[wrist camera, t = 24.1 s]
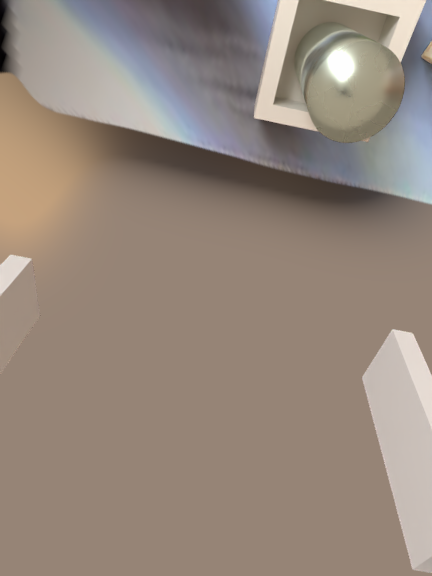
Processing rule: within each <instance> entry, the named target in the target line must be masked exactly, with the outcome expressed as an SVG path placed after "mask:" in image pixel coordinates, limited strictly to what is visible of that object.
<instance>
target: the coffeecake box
mask: <svg viewBox="0 0 432 576" xmlns="http://www.w3.org/2000/svg"><path fill="white" fill-rule="evenodd" d="M421 57H422V58H423V59H425V60H426V61H428V62H429V63H431V64H432V41H431V43H430V44H429V45H428V47H427V48H426V50H425V51H424V52H423V54H422V55H421Z"/></svg>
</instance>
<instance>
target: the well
mask: <svg viewBox="0 0 432 576" xmlns="http://www.w3.org/2000/svg"><path fill="white" fill-rule="evenodd" d="M425 2H426V0H278V2H277V6H276V11H275V15H274V20H273V25H272V29H271V34H270V38H269V43H268V47H267V52H266V56H265V61H264V65H263V70H262V74H261V79H260V84H259V88H258V93H257V97H256V102H255V107H254V118H257V119H262V120H266V121H271V122H276V123H280V124H285V125H290V126H295V127H299V128H304V129H309V130H313V131H318V130H317V129H316V127H315V126H314V124H313V122H312V120H311V118H310V115H309V112H308V109H307V106H306V103H305V100H304V97H303V94H302V91H301V88H300V85H299V82H298V79H297V76H296V72H295V67H294V58H295V53H296V49H297V47H298V45H299V43H300V41H301V39H302V38H303V36H304V35H305V34H306V33H307V32H308V31H309V30H310V29H312V28H313V27H315V26H317V25H319V24H321V23H325V22H337V23H340V24H343V25H345V26H347V27H349V28H351V29H352V30H354V31H356V32H358V33H360V34H362V35H364V36H366V37H368V38H370V39H372V40H374V41H376V42H378V43H380V44H382V45H384V46H385V47H387V48H388V49H390V50H391V51H392V52H393V53H394V54H395V55H396V56H397V58H398V59H399V61H400V63H401V60H402V58H403V56H404V53H405V51H406V48H407V46H408V43H409V41H410V38H411V36H412V34H413V31H414V29H415V26H416V24H417V21H418V19H419V16H420V14H421V12H422V9H423V7H424V4H425ZM318 132H319V131H318ZM369 139H370V137H369V138H367V139H364V140H362V141H365V142H368V141H369Z"/></svg>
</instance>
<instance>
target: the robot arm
mask: <svg viewBox="0 0 432 576" xmlns="http://www.w3.org/2000/svg"><path fill="white" fill-rule="evenodd" d="M39 317H40V312H39V305H38V298H37V290H36V283H35V276H34V269H33V262H32V259H31V258H26V257H20V256H15V255H9V256H8V258H7V259H6V260H5V261H4V262H3V263H2V264H1V265H0V374H1V373H2V371H3V370H4V368H5V367H6V365H7V364H8V362H9V361H10V360H11V358H12V357H13V355H14V354H15V352H16V351H17V349H18V348H19V346H20V345H21V343H22V342H23V340H24V339H25V338H26V336H27V334H28V333H29V332H30V330H31V329H32V327H33V326H34V324H35V323H36V321H37V320H38V318H39ZM362 379H363V383H364V387H365V391H366V395H367V398H368V402H369V406H370V410H371V413H372V417H373V421H374V425H375V429H376V432H377V436H378V440H379V444H380V447H381V451H382V455H383V459H384V463H385V466H386V470H387V474H388V478H389V482H390V485H391V489H392V493H393V497H394V501H395V504H396V508H397V512H398V516H399V519H400V523H401V527H402V531H403V535H404V538H405V542H406V546H407V550H408V554H409V557H410V561H411V565H412V569H413V570H418V571H423V572H429V573H432V375H431V373H430V371H429V369H428V366H427V364H426V362H425V360H424V358H423V355H422V353H421V351H420V348H419V346H418V344H417V342H416V339H415V337H414V335H413V333H409V332H404V331H399V330H394V329H392V331H391V332H390V334H389V335H388V338H387V339H386V340H385V342H384V344H383V345H382V347H381V348H380V350H379V351H378V353H377V355H376V356H375V358H374V360H373V361H372V362H371V364H370V366H369V367H368V369H367V370H366V372H365V374H364V375H363V377H362Z"/></svg>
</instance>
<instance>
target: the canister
mask: <svg viewBox="0 0 432 576" xmlns="http://www.w3.org/2000/svg"><path fill="white" fill-rule="evenodd" d="M294 67H295V72H296V76H297V79H298V82H299V85H300V88H301V91H302V94H303V97H304V100H305V103H306V106H307V109H308V112H309V115H310V118H311V120H312V122H313V124H314V126H315V127H316V129H317V130H318V131H319V132H320V133H321V134H322V135H324V136H325V137H327V138H329V139H331V140H333V141H337V142H342V143H352V142H358V141H362V140H364V139H367V138H369V137H371V136H373V135H375V134H376V133H378V132H379V131H380V130H382V129H383V128H384V127H385V126H386V125H387V124H388V123H389V122H390V120H391V119H392V118H393V117H394V115H395V113H396V112H397V110H398V108H399V106H400V104H401V101H402V98H403V93H404V87H405V77H404V72H403V68H402V65H401V63H400V61H399V59H398V58H397V56H396V55H395V54H394V53H393V52H392V51H391V50H390V49H388V48H387V47H385V46H384V45H382V44H380V43H378V42H376V41H374V40H372V39H370V38H368V37H366V36H364V35H362V34H360V33H358V32H356V31H354V30H352V29H351V28H349V27H347V26H345V25H343V24H340V23H337V22H325V23H321V24H319V25H317V26H315V27H313V28H312V29H310V30H309V31H308V32H307V33H306V34H305V35H304V36H303V38H302V39H301V41H300V43H299V45H298V47H297V49H296V53H295V58H294Z"/></svg>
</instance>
